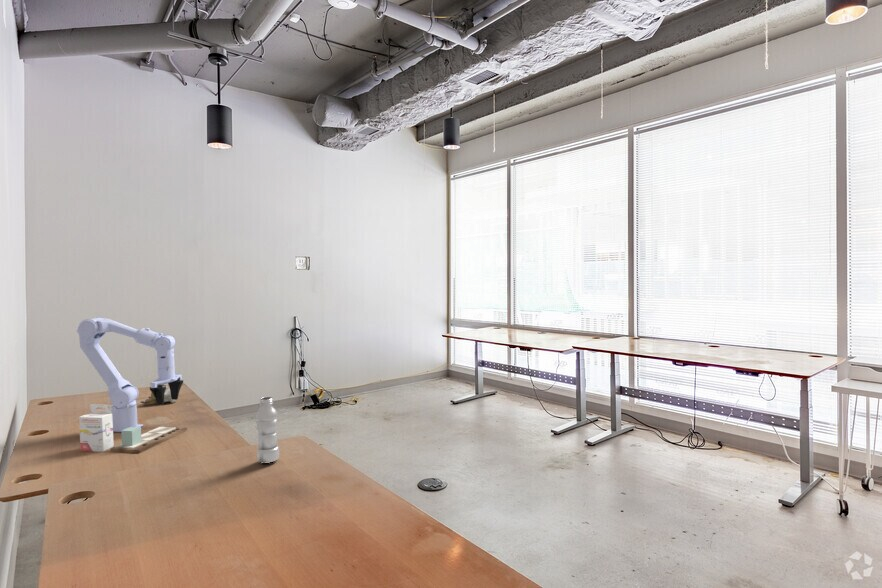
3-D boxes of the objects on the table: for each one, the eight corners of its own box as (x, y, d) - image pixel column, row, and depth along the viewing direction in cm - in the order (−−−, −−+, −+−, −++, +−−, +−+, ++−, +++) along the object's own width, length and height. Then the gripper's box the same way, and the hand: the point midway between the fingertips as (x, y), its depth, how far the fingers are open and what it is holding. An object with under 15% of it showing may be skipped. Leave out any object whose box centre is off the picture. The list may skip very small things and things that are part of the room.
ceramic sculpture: (175, 385, 218) (138, 389, 215) (177, 404, 219) (140, 408, 216) (182, 380, 229) (147, 384, 225) (184, 398, 229) (149, 402, 226)
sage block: (122, 445, 164) (121, 430, 164) (131, 441, 168) (130, 426, 168) (132, 445, 164) (131, 431, 163) (141, 441, 168) (140, 427, 167)
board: (110, 451, 162) (110, 447, 162) (160, 429, 185) (160, 425, 185) (139, 453, 160) (139, 449, 160) (187, 430, 183) (186, 426, 183)
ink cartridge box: (79, 451, 163) (77, 407, 162) (91, 446, 168) (89, 403, 167) (103, 452, 162) (101, 408, 161) (114, 446, 167) (112, 404, 166)
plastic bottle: (284, 459, 153) (282, 396, 152) (268, 468, 147) (266, 402, 146) (268, 456, 156) (266, 394, 155) (252, 464, 150) (250, 400, 149)
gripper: (161, 371, 179) (163, 407, 180) (188, 363, 194) (189, 397, 194) (144, 370, 180) (146, 407, 181) (172, 363, 195) (173, 396, 195)
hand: (167, 402), depth 188 cm, fingers open, 7 cm apart
